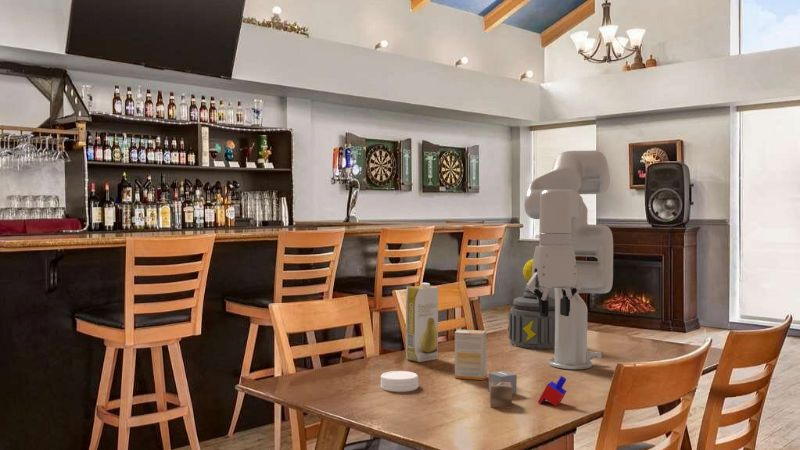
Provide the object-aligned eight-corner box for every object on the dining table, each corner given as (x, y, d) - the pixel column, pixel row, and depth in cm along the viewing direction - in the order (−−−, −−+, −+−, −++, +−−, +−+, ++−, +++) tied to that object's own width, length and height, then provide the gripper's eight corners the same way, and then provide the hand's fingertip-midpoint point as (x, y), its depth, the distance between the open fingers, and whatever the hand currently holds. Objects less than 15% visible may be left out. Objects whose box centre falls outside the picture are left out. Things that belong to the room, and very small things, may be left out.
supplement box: (487, 377, 196) (487, 330, 196) (483, 381, 191) (483, 333, 191) (458, 374, 199) (458, 328, 198) (454, 378, 194) (454, 331, 194)
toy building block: (552, 412, 168) (568, 384, 166) (537, 402, 169) (552, 374, 167) (556, 408, 171) (572, 381, 169) (542, 398, 173) (557, 371, 171)
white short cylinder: (374, 385, 187) (374, 372, 187) (409, 381, 191) (409, 369, 191) (389, 394, 178) (389, 380, 178) (424, 390, 182) (424, 377, 182)
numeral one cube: (503, 389, 183) (504, 370, 183) (516, 394, 178) (516, 374, 178) (488, 392, 180) (488, 372, 180) (500, 396, 176) (501, 376, 176)
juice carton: (419, 363, 212) (420, 284, 212) (402, 359, 218) (402, 282, 218) (441, 359, 219) (442, 282, 218) (424, 355, 224) (424, 280, 224)
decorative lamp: (502, 346, 239) (503, 259, 239) (515, 337, 257) (516, 255, 256) (557, 351, 232) (558, 261, 231) (567, 341, 249) (568, 257, 249)
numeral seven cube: (510, 402, 171) (510, 381, 170) (511, 408, 166) (512, 386, 166) (489, 401, 171) (489, 381, 171) (490, 407, 166) (490, 386, 166)
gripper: (578, 239, 175) (577, 312, 175) (516, 240, 170) (515, 314, 171) (594, 241, 168) (593, 317, 168) (530, 241, 163) (529, 319, 164)
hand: (554, 315), depth 169 cm, fingers open, 4 cm apart
